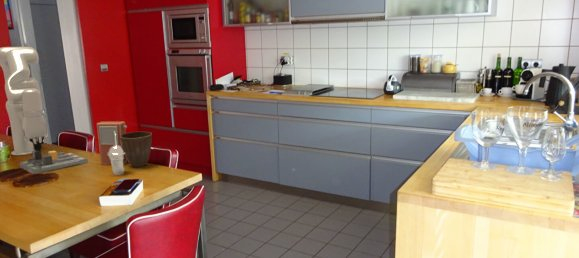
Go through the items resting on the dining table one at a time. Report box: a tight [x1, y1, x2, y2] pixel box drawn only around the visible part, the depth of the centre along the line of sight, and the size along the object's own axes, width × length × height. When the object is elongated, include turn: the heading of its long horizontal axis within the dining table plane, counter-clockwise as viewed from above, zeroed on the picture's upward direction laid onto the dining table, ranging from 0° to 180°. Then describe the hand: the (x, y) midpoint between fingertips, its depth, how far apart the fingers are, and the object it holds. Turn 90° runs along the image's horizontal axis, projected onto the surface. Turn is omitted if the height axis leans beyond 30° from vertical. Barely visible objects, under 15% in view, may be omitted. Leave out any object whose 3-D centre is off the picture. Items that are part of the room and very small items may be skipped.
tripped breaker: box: [47, 150, 59, 160], centre depth 225 cm, size 4×5×5 cm
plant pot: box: [120, 131, 153, 168], centre depth 220 cm, size 15×15×16 cm
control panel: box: [96, 121, 129, 165], centre depth 225 cm, size 21×7×15 cm
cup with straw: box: [107, 131, 126, 176], centre depth 207 cm, size 8×9×20 cm
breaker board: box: [18, 150, 88, 175], centre depth 225 cm, size 22×26×7 cm
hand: (38, 150), depth 219 cm, fingers closed
